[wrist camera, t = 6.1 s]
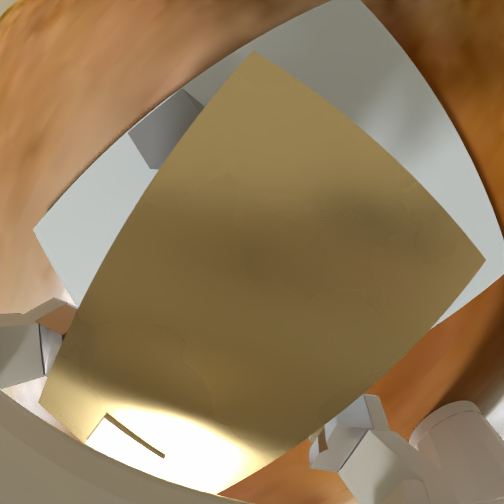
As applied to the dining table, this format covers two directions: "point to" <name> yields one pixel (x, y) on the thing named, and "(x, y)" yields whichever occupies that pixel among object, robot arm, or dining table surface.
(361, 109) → the base
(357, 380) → the tan parcel with label
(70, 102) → the dining table surface
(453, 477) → the cup
